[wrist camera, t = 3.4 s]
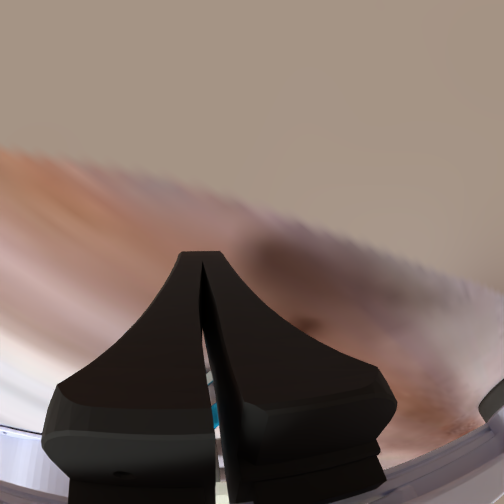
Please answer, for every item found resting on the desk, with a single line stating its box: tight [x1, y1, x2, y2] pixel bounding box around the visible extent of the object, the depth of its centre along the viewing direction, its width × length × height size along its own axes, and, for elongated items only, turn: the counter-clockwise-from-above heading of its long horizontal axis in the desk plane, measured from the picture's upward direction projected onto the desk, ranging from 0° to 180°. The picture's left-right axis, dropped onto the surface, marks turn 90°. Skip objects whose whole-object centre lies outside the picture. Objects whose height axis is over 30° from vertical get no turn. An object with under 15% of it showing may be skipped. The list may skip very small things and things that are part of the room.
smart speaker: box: [479, 379, 504, 423], centre depth 33 cm, size 9×9×4 cm
